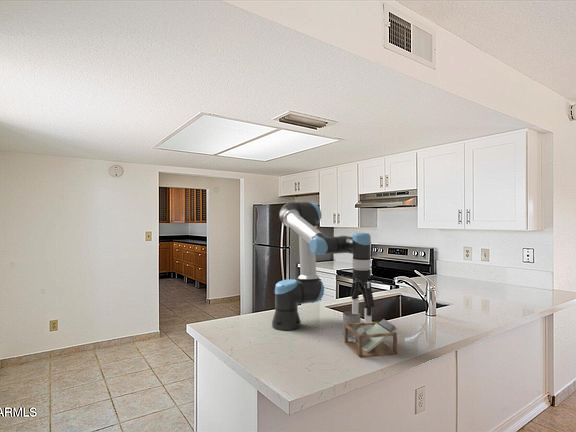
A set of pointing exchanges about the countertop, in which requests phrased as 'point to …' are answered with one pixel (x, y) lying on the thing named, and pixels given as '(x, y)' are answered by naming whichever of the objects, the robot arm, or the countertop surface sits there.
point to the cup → (351, 321)
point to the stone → (364, 340)
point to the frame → (380, 348)
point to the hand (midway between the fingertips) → (361, 318)
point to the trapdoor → (376, 329)
